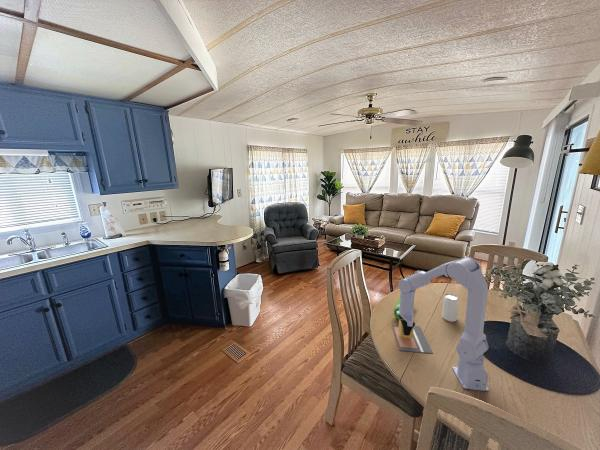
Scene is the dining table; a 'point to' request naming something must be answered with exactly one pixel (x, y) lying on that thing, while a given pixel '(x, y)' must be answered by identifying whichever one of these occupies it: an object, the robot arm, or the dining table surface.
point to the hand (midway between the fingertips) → (405, 330)
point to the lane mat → (412, 341)
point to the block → (403, 332)
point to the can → (450, 307)
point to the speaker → (397, 309)
